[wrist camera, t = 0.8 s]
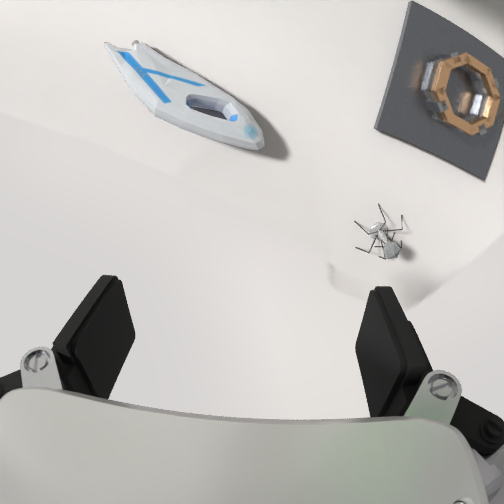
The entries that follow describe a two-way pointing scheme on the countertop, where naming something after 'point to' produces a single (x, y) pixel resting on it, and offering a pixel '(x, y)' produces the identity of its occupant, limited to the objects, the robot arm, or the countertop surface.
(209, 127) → the spaceship
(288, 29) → the countertop surface
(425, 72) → the collar base
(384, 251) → the bacteriophage
